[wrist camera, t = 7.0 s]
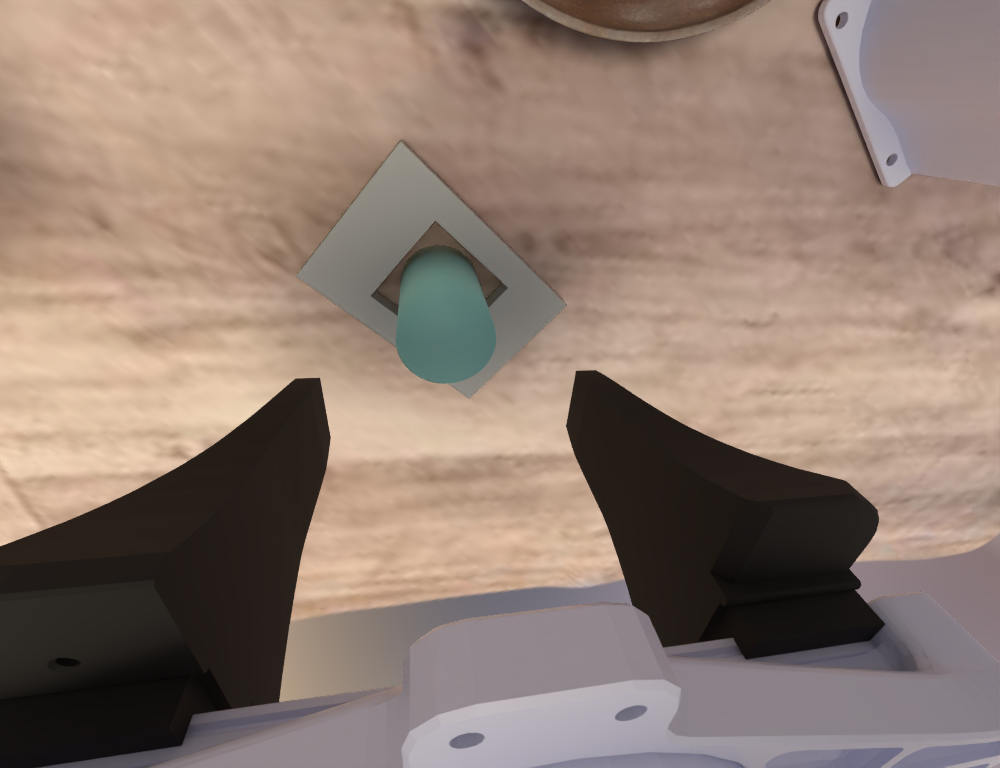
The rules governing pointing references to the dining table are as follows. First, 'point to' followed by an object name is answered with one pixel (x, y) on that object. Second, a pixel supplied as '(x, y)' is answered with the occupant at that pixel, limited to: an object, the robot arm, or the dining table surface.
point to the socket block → (394, 231)
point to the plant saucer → (644, 16)
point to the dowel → (443, 317)
